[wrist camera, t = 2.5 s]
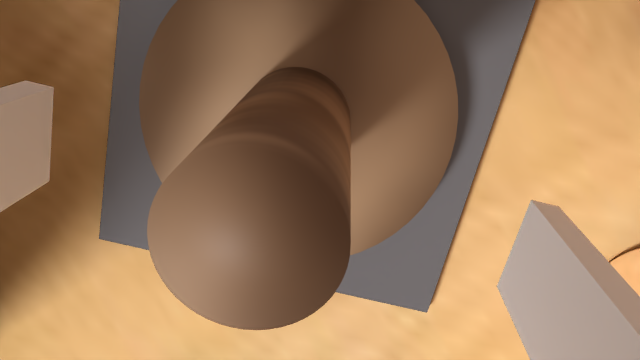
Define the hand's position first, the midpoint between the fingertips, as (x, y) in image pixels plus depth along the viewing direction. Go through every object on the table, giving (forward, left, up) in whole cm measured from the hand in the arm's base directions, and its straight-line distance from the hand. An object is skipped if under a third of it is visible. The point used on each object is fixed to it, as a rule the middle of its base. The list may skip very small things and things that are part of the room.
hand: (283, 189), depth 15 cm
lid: (0, 0, -9) cm, 9 cm away
